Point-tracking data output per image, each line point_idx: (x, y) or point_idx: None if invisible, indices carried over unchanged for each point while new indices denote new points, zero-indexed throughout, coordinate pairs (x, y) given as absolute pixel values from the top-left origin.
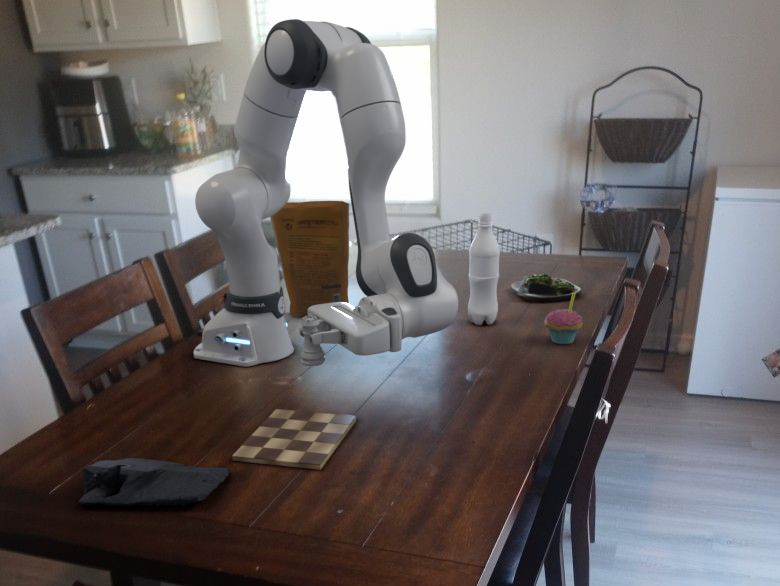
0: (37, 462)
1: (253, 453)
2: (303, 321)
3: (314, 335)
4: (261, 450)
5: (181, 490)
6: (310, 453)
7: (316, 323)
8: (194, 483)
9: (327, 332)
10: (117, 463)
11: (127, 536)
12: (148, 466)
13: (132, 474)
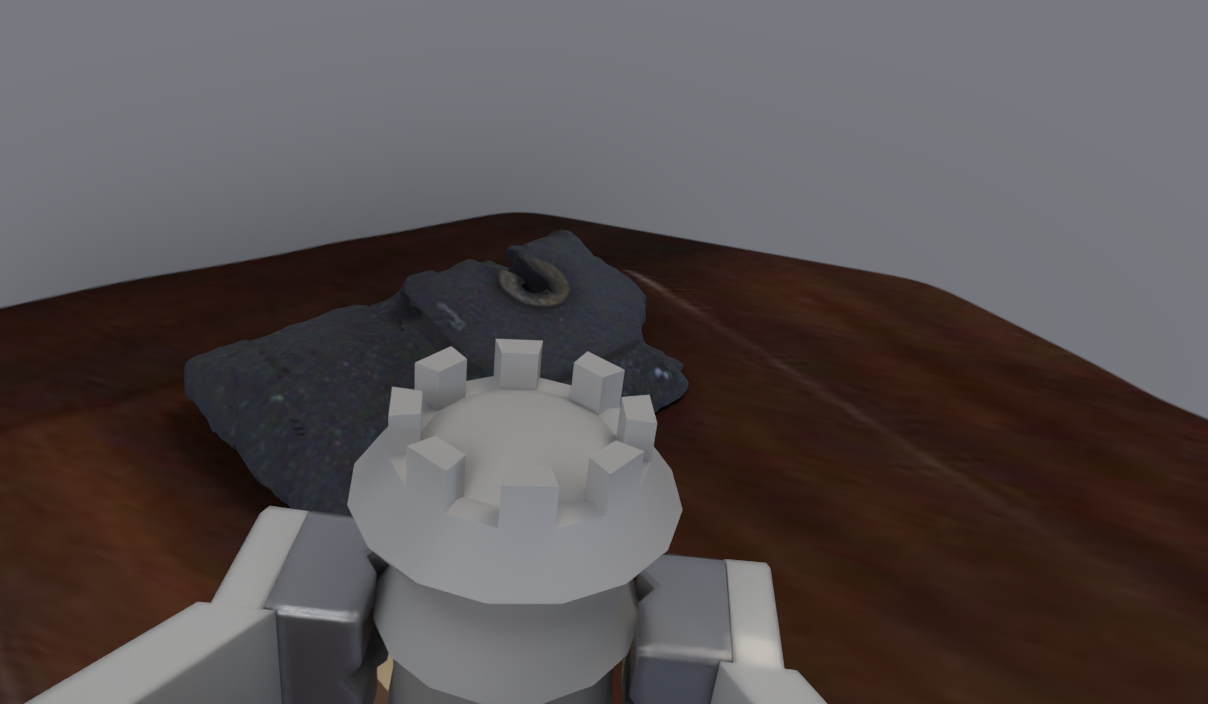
0: (840, 297)
1: (390, 662)
2: (524, 372)
3: (263, 515)
4: (385, 701)
5: (270, 346)
6: None
7: (364, 491)
8: (249, 358)
9: (128, 652)
10: (575, 295)
11: (253, 286)
12: (485, 325)
13: (438, 273)
